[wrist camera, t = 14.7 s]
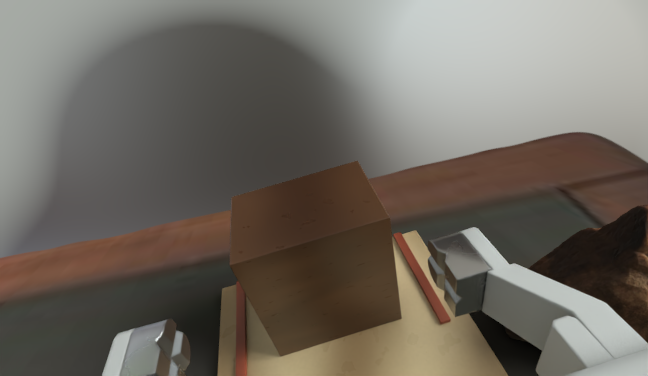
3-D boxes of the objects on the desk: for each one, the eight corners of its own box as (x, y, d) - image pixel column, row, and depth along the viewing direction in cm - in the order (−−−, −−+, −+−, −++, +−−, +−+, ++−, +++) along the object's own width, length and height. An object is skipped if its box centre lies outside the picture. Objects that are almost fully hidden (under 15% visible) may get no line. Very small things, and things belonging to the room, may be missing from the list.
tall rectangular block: (280, 357, 27) (229, 265, 20) (272, 283, 33) (231, 194, 26) (402, 318, 27) (390, 217, 21) (373, 253, 33) (356, 158, 26)
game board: (211, 604, 18) (202, 603, 17) (224, 293, 34) (220, 286, 33) (570, 481, 19) (575, 475, 18) (416, 235, 35) (415, 227, 34)
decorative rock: (683, 316, 24) (771, 198, 18) (723, 409, 20) (859, 297, 13) (492, 285, 29) (507, 183, 22) (491, 354, 24) (509, 252, 18)
